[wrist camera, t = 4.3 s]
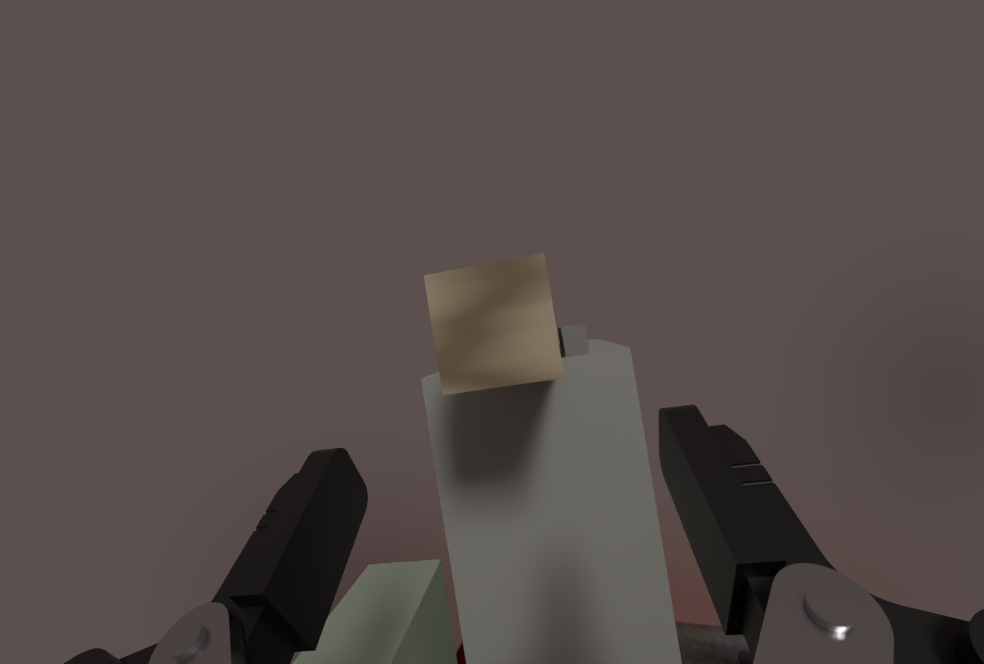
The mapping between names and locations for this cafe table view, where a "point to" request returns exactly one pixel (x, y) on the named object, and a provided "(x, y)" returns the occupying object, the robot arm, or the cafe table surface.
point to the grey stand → (554, 515)
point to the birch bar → (494, 325)
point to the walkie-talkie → (745, 658)
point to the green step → (389, 619)
